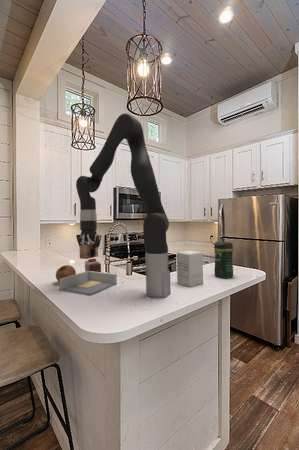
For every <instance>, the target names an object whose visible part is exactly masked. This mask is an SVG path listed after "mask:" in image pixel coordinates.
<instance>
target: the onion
mask: <svg viewBox="0 0 299 450" xmlns="http://www.w3.org/2000/svg"><path fill="white" fill-rule="evenodd" d="M75 274H77V271H76V269H75V268H74V267H73V266H72V265H69V264H66V265H63V266H62V265H61V266H60V267H59V268H58V269H57V270H56V272H55V279H56V280H57V283H60V279H61V278H64V277H68V276H71V275H75Z"/></svg>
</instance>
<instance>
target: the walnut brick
mask: <svg viewBox="0 0 299 450" xmlns="http://www.w3.org/2000/svg"><path fill="white" fill-rule="evenodd" d="M78 248H79V259H81V260H82V259H83V260H89V259H94V258H97V257H99V247H97V248H96V249H95V250H96V255H95V257H91V247H90V244H89V243H88V244H86V245H79V244H78Z"/></svg>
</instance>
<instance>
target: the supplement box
mask: <svg viewBox="0 0 299 450" xmlns="http://www.w3.org/2000/svg"><path fill="white" fill-rule="evenodd" d="M203 258H204V256H203V252H201V251H194V250H186V251H176V278H177V279H176V281H177V284H180V285H182V286H185V287H188V288H191V287H195V286H199V285H203V284H204V260H203Z"/></svg>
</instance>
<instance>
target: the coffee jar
mask: <svg viewBox="0 0 299 450" xmlns="http://www.w3.org/2000/svg"><path fill="white" fill-rule="evenodd" d="M213 249H214V276H216V277H218V278H221V279H231V278H234V266H233V251H234V245H233V243H232V242H230V241H224V240H219V241H215V242H214V246H213Z"/></svg>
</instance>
